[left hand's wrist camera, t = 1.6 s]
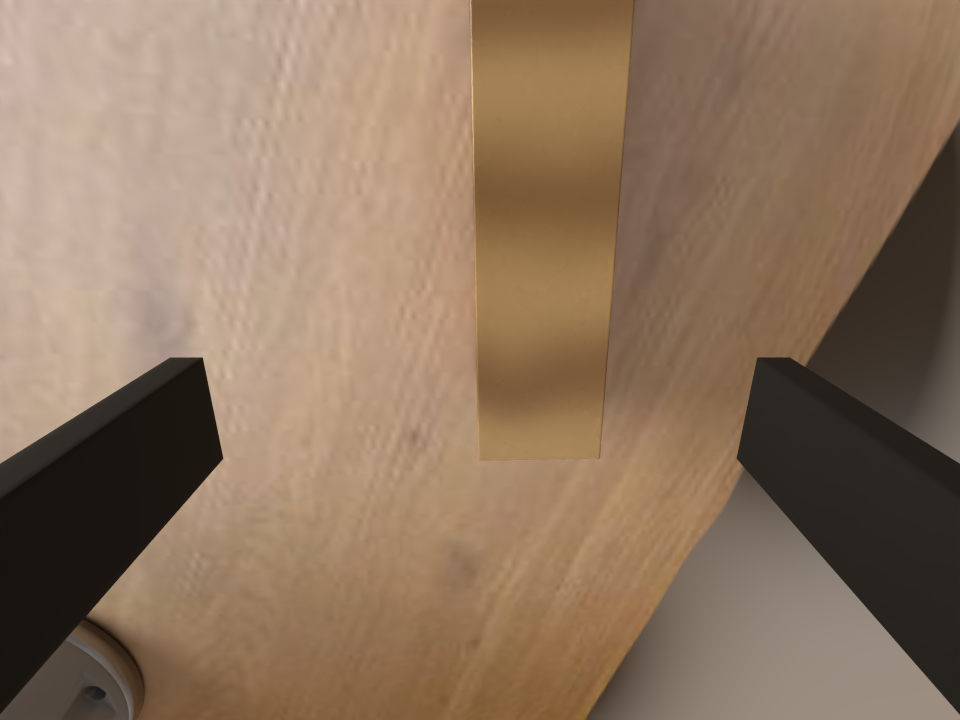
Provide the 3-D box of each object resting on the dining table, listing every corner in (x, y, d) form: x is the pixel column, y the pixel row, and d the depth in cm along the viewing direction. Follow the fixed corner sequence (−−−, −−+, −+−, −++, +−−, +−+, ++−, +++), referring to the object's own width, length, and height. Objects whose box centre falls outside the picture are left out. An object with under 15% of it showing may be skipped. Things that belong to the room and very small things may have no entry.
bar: (568, 384, 31) (600, 458, 23) (478, 386, 31) (478, 461, 23) (590, -66, 23) (649, -184, 15) (469, -63, 23) (466, -181, 15)
